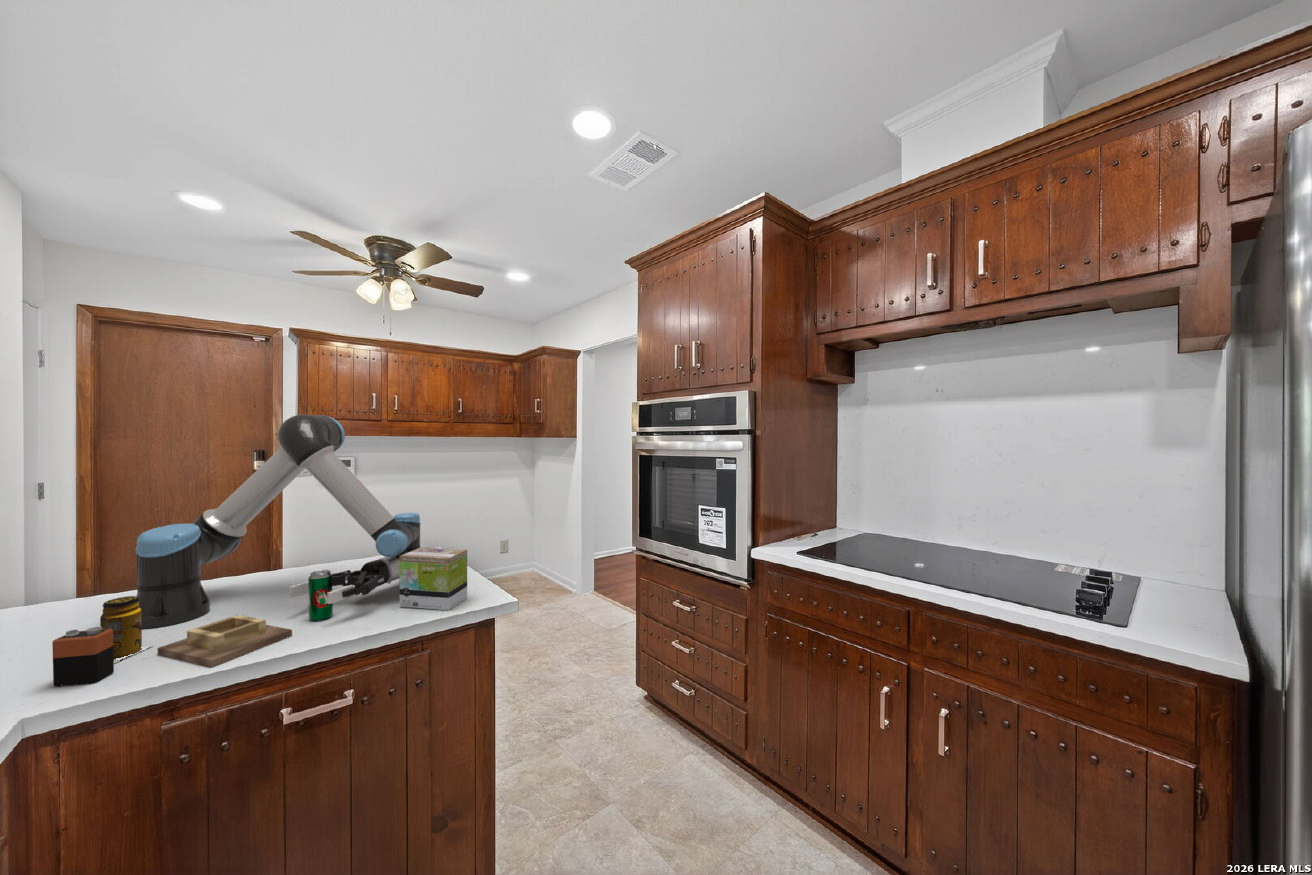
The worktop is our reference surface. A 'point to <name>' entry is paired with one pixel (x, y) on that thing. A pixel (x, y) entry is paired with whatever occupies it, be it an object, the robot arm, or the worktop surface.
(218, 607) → the worktop surface
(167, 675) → the worktop surface
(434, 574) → the tea box
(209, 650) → the collar board
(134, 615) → the condiment
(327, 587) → the soda can
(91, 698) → the worktop surface
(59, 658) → the battery
